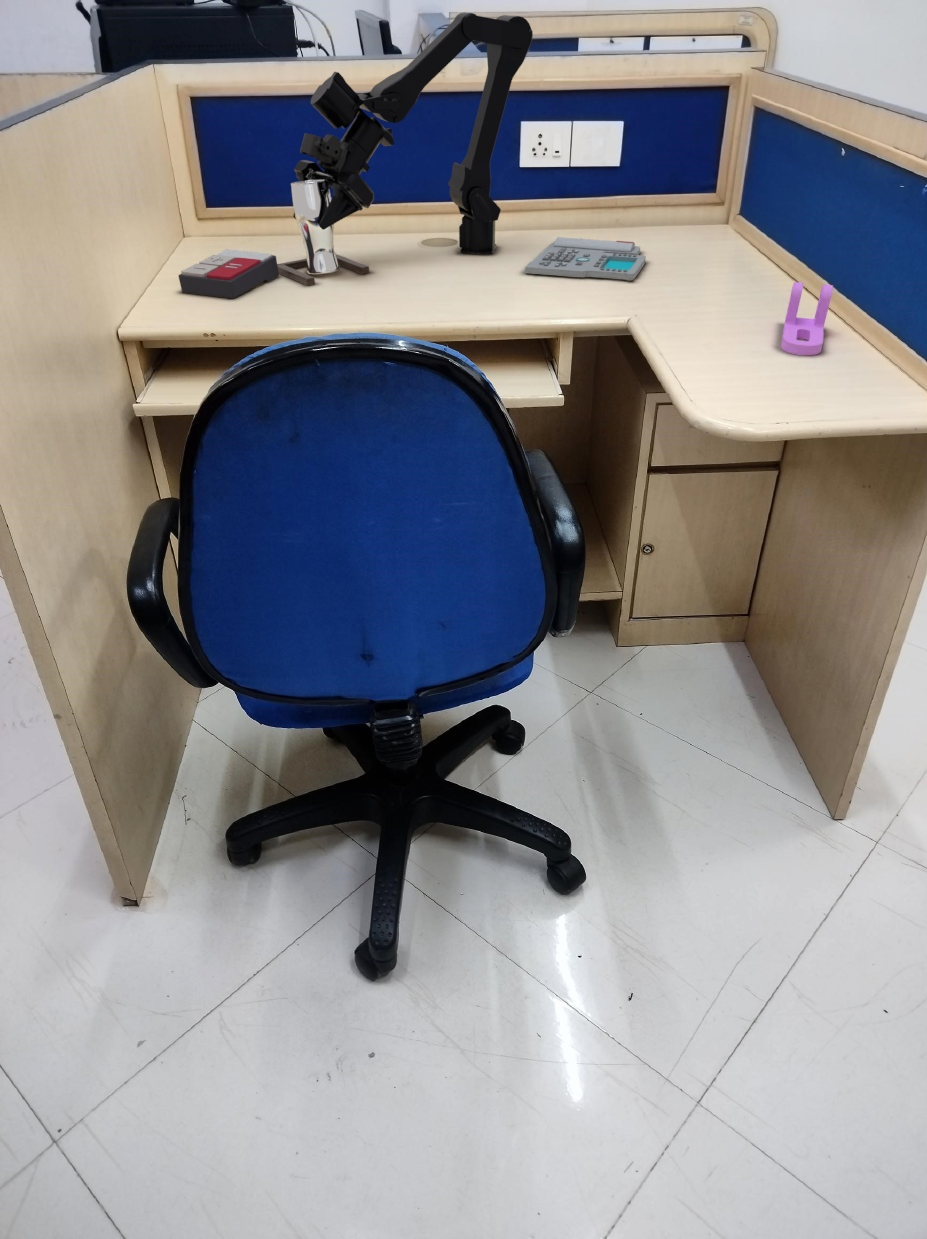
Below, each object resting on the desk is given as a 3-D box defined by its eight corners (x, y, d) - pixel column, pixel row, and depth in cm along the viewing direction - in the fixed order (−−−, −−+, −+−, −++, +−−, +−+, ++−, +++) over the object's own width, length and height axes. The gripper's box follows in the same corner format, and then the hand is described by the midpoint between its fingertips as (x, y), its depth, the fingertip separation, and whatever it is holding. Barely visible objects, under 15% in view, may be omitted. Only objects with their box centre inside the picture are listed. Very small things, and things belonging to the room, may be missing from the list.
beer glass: (347, 267, 159) (334, 178, 152) (334, 273, 154) (320, 181, 146) (312, 268, 161) (298, 180, 153) (299, 275, 155) (283, 184, 147)
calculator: (175, 270, 146) (225, 245, 156) (181, 296, 148) (229, 269, 159) (229, 276, 142) (276, 250, 153) (234, 302, 145) (280, 275, 156)
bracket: (783, 325, 132) (794, 279, 128) (821, 328, 131) (832, 282, 127) (780, 352, 123) (791, 303, 118) (820, 357, 121) (833, 307, 117)
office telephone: (555, 232, 172) (653, 239, 167) (554, 245, 174) (652, 253, 169) (525, 259, 155) (634, 267, 149) (524, 274, 156) (632, 283, 151)
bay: (369, 272, 158) (369, 266, 157) (307, 285, 151) (306, 278, 150) (334, 259, 165) (333, 253, 165) (274, 271, 159) (273, 264, 158)
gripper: (298, 108, 151) (250, 183, 152) (355, 119, 139) (303, 200, 140) (339, 155, 159) (293, 225, 160) (396, 168, 148) (346, 244, 149)
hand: (307, 223), depth 152 cm, fingers open, 9 cm apart
